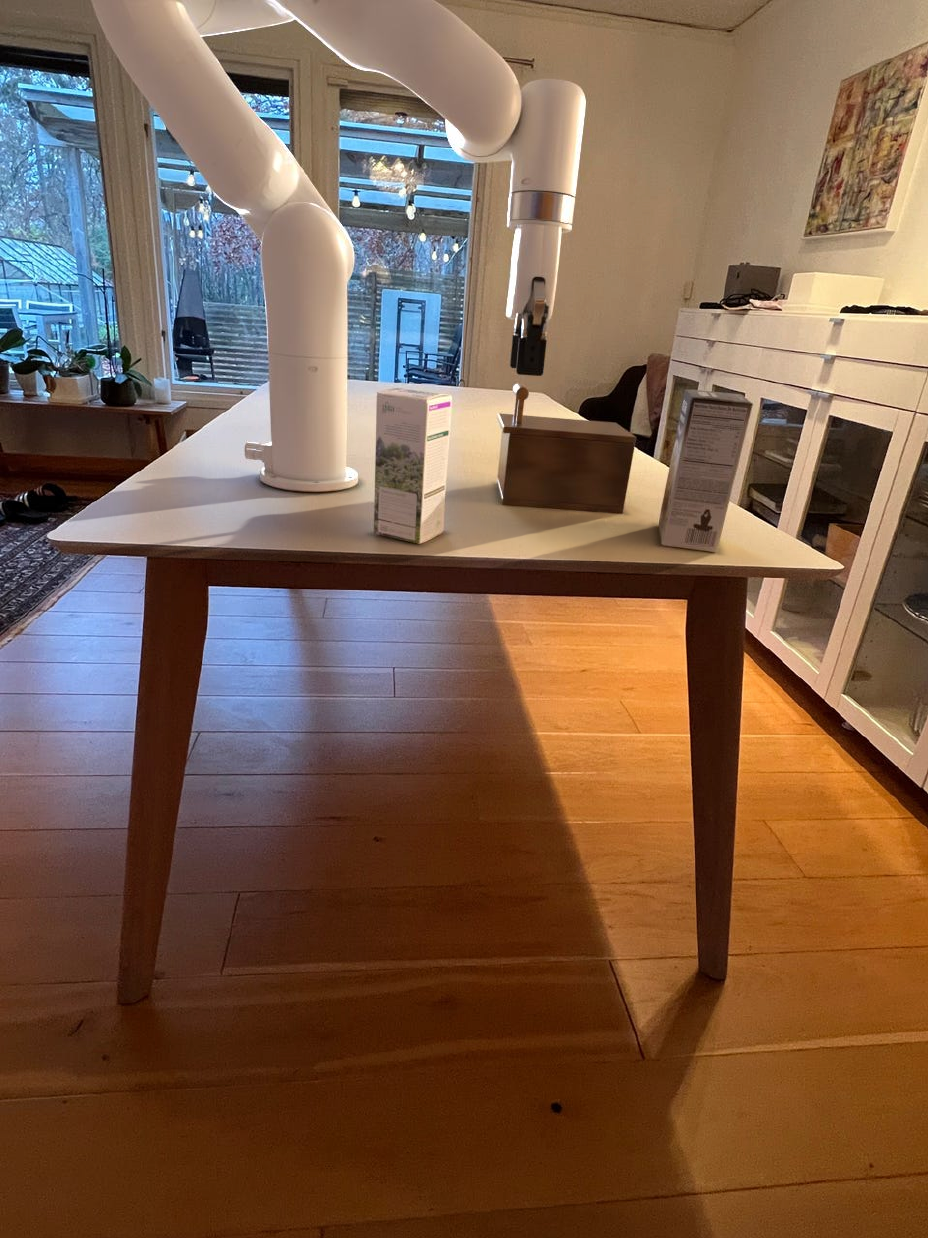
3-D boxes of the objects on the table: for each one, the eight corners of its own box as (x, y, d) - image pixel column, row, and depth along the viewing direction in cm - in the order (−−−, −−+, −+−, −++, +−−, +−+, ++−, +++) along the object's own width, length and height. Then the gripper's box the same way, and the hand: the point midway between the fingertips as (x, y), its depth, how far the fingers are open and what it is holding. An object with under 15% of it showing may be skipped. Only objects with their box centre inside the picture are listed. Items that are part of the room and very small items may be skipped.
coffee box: (656, 524, 85) (683, 387, 79) (709, 531, 84) (741, 393, 78) (660, 546, 77) (691, 395, 70) (719, 554, 76) (756, 402, 69)
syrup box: (445, 532, 75) (455, 393, 69) (419, 546, 70) (427, 397, 64) (399, 522, 77) (405, 386, 71) (370, 535, 72) (374, 389, 66)
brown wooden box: (502, 504, 88) (509, 433, 84) (496, 483, 99) (503, 419, 95) (622, 513, 89) (635, 443, 85) (604, 491, 99) (615, 428, 96)
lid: (502, 433, 84) (507, 388, 82) (497, 419, 95) (501, 379, 93) (635, 443, 85) (643, 399, 83) (615, 428, 96) (621, 389, 94)
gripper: (503, 221, 88) (492, 364, 95) (514, 202, 72) (499, 375, 79) (561, 225, 88) (546, 368, 95) (585, 207, 72) (565, 380, 79)
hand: (525, 371), depth 87 cm, fingers open, 9 cm apart
